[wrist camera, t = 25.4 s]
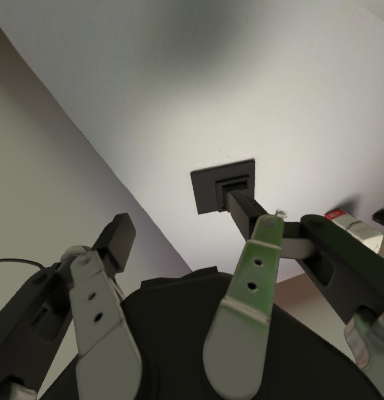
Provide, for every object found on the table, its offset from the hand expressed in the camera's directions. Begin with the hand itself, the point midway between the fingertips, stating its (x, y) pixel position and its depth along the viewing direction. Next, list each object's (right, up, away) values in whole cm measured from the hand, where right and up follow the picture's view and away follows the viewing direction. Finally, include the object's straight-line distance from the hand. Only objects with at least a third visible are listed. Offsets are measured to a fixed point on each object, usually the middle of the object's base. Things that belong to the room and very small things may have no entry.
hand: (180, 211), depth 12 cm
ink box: (+47, -6, +38) cm, 61 cm away
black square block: (+12, +3, +28) cm, 31 cm away
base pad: (+9, +4, +29) cm, 30 cm away
